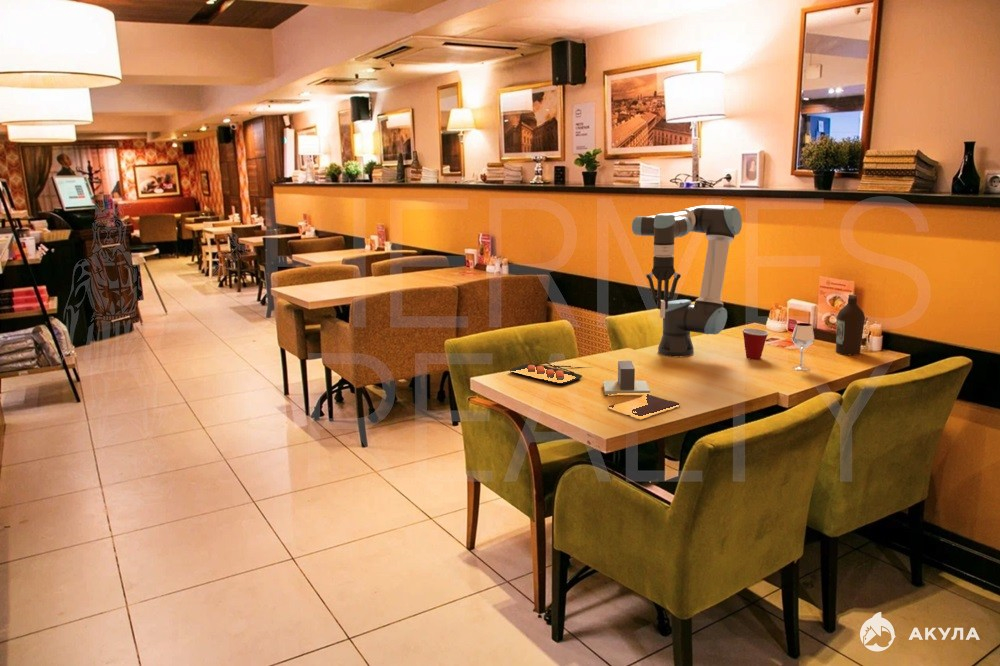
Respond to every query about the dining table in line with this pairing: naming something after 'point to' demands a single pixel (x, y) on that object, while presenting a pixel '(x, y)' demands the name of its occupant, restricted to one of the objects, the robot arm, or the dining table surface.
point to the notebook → (653, 405)
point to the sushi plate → (549, 371)
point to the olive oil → (850, 328)
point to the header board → (614, 388)
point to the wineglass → (802, 340)
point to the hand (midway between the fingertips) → (662, 317)
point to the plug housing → (626, 375)
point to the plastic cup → (754, 342)
